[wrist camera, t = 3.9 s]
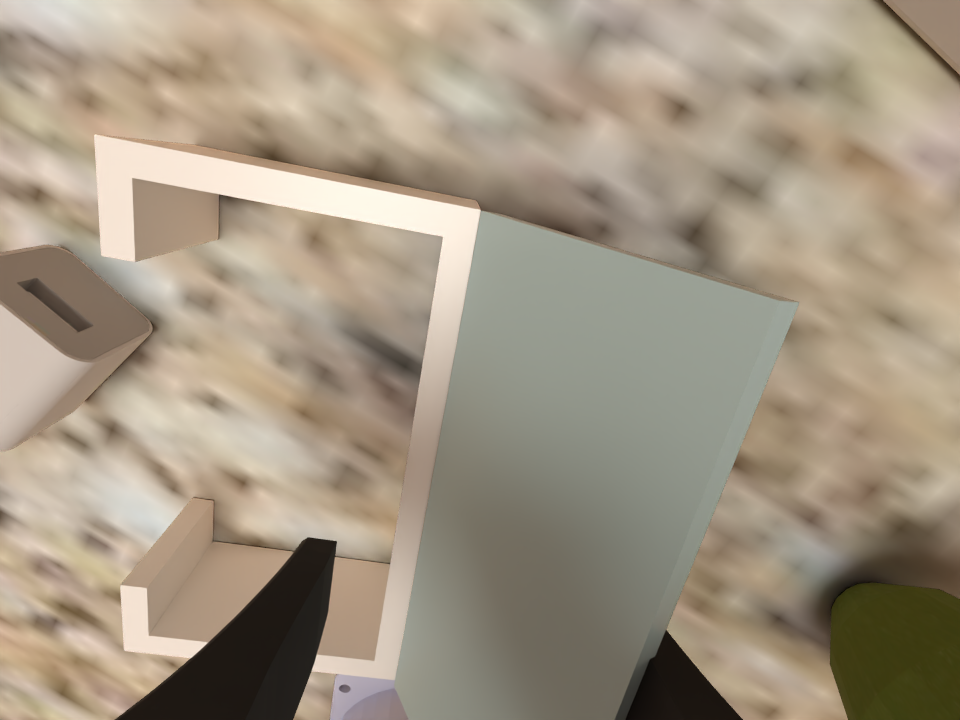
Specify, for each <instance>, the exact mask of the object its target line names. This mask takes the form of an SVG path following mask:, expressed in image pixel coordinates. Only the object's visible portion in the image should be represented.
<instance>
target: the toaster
mask: <svg viewBox="0 0 960 720" xmlns="http://www.w3.org/2000/svg"><path fill="white" fill-rule="evenodd" d="M883 1H884V2H885V3H886V4H887V5H888V6H889V7H890V8H891V9H892V10H893V11H894V12H896V13H897V14H898V15H899V16H900V17H901V18H902V19H903V20H904V21H905V22H906V23H907V24H908V25H909V26H910V27H911V28H912V29H913V30H914V31H915V32H916V33H917V34H918V35H919V36H920V37H921V38H922V39H923V40H924V41H925V42H926V43H927V44H929V45H930V46H931V47H932V48H933V49H934V50H935V51H936V52H937V53H938V54H939V55H940V56H941V57H942V58H943V59H944V60H945V61H946V62H947V63H948V64H949V65H950V66H951V67H952V68H953V69H954V70H955V71H956V72H957V73H958V74H959V75H960V0H883Z"/></svg>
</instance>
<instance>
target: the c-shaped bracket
mask: <svg viewBox="0 0 960 720" xmlns="http://www.w3.org/2000/svg"><path fill="white" fill-rule="evenodd" d="M94 139H95V156H96V174H97V191H98V208H99V226H100V243H101V256H105V257H110V258H116V259H122V260H128V261H133V262H136V261H140V260H144V259H147V258H151V257H155V256H159V255H162V254H166V253H170V252H173V251H177V250H181V249H184V248H188V247H192V246H195V245H199V244H203V243H207V242H210V241H214V240H218V231H219V194H221V195H226V196H231V197H236V198H242V199H247V200H252V201H257V202H263V203H268V204H273V205H279V206H284V207H289V208H294V209H300V210H305V211H310V212H316V213H321V214H326V215H331V216H337V217H342V218H347V219H352V220H358V221H363V222H368V223H374V224H379V225H384V226H389V227H395V228H400V229H405V230H410V231H416V232H421V233H426V234H432V235H437V236H442V237H443V241H442V248H441V254H440V260H439V266H438V272H437V278H436V285H435V291H434V297H433V303H432V309H431V315H430V322H429V328H428V334H427V340H426V346H425V352H424V359H423V365H422V371H421V377H420V383H419V389H418V396H417V402H416V408H415V414H414V420H413V426H412V433H411V439H410V445H409V451H408V457H407V463H406V470H405V476H404V482H403V488H402V494H401V500H400V507H399V513H398V519H397V525H396V531H395V537H394V544H393V550H392V556H391V562H390V564H386V563H378V562H370V561H362V560H355V559H347V558H339V557H335V560H334V568H333V577H332V585H331V593H330V601H329V609H328V615H327V619H326V623H325V626H324V630H323V634H322V637H321V641H320V645H319V648H318V652H317V655H316V659H315V663H314V665H313V668H312V671H314V672H323V673H332V674H342V675H351V676H360V677H369V678H378V679H388V680H395V676H396V671H397V665H398V660H399V655H400V649H401V644H402V638H403V633H404V627H405V622H406V616H407V611H408V605H409V600H410V595H411V589H412V584H413V578H414V573H415V567H416V562H417V556H418V551H419V545H420V540H421V534H422V529H423V524H424V518H425V513H426V507H427V502H428V496H429V491H430V485H431V480H432V474H433V469H434V464H435V458H436V453H437V447H438V442H439V436H440V431H441V425H442V420H443V414H444V409H445V403H446V398H447V393H448V387H449V382H450V376H451V371H452V365H453V360H454V354H455V349H456V343H457V338H458V333H459V327H460V322H461V316H462V311H463V305H464V300H465V294H466V289H467V283H468V278H469V272H470V267H471V262H472V256H473V251H474V245H475V240H476V234H477V229H478V223H479V218H480V212H481V209H480V207H479V205H478V203H477V200H472V199H466V198H461V197H456V196H451V195H446V194H441V193H436V192H431V191H426V190H421V189H416V188H411V187H406V186H401V185H395V184H390V183H385V182H380V181H375V180H370V179H365V178H360V177H355V176H350V175H345V174H340V173H335V172H330V171H324V170H319V169H314V168H309V167H304V166H299V165H294V164H289V163H284V162H279V161H274V160H269V159H264V158H259V157H253V156H248V155H243V154H238V153H233V152H228V151H223V150H218V149H213V148H208V147H203V146H198V145H192V144H182V143H173V142H163V141H153V140H144V139H134V138H125V137H115V136H106V135H96V134H94ZM213 510H214V501H213V500H205V499H198V498H192V500H191V501H190V502H189V503H188V504H187V506H186V507H185V508H184V509H183V510H182V512H181V513H180V514H179V515H178V516H177V518H176V519H175V520H174V521H173V522H172V524H171V525H170V526H169V527H168V528H167V530H166V531H165V532H164V533H163V534H162V536H161V537H160V538H159V539H158V540H157V542H156V543H155V544H154V545H153V546H152V548H151V549H150V550H149V551H148V552H147V554H146V555H145V556H144V557H143V558H142V560H141V561H140V562H139V563H138V564H137V566H136V567H135V568H134V569H133V570H132V572H131V573H130V574H129V575H128V576H127V578H126V579H125V580H124V581H123V582H122V584H121V585H120V588H121V605H122V623H123V640H124V651H130V652H139V653H149V654H158V655H167V656H176V657H185V658H192V657H193V656H194V655H195V654H196V653H197V652H198V651H200V650H201V649H202V648H203V647H204V646H205V645H206V644H207V643H208V642H209V641H210V640H211V639H212V638H213V637H214V636H216V635H217V634H218V633H219V632H220V631H221V630H222V629H223V628H224V627H225V626H226V625H227V624H228V623H229V622H230V621H231V620H232V619H233V618H234V617H235V616H236V615H237V614H238V613H239V612H240V611H241V610H242V609H243V608H244V607H245V606H246V605H247V604H248V603H249V602H250V601H251V600H252V599H253V598H254V597H255V596H256V595H257V594H258V593H259V592H260V590H261V589H262V588H263V587H264V586H265V585H266V584H267V583H268V582H269V581H270V580H271V578H272V577H273V576H274V575H275V574H276V573H277V572H278V571H279V569H280V568H281V567H282V566H283V565H284V564H285V562H286V561H287V560H288V559H289V558H290V556H291V555H292V554H293V553H294V552H293V551H285V550H277V549H270V548H262V547H254V546H247V545H239V544H231V543H223V542H216V541H213Z"/></svg>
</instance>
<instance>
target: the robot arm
mask: <svg viewBox="0 0 960 720" xmlns="http://www.w3.org/2000/svg"><path fill="white" fill-rule="evenodd" d="M336 544H337V541H330V540H323V539H316V538H309V537H308V538H307V539H305V540H303V541H302V542H301V544H300V545H299V546H298V548H297V549H296V550H295V551H294V553H293V554H292V555H291V556H290V558H289V559H288V560H287V561H286V562H285V564H284V565H283V566H282V567H281V568H280V569H279V571H278V572H277V573H276V574H275V575H274V576H273V577H272V578H271V580H270V581H269V582H268V583H267V584H266V585H265V586H264V587H263V588H262V589H261V590H260V592H259V593H258V594H257V595H256V596H255V597H254V598H253V599H252V600H251V601H250V602H249V603H248V604H247V605H246V606H245V607H244V608H243V609H242V610H241V611H240V612H239V613H238V614H237V615H236V616H235V617H234V618H233V619H232V620H231V621H230V622H229V623H228V624H227V625H226V626H225V627H224V628H223V629H222V630H221V631H220V632H219V633H218V634H217V635H216V636H214V637H213V638H212V639H211V640H210V641H209V642H208V643H207V644H206V645H205V646H204V647H203V648H202V649H201V650H200V651H198V652H197V653H196V654H195V655H194V656H193V657H192V658H191V659H189V660H188V661H187V662H186V663H185V664H184V665H183V666H181V667H180V668H179V669H178V670H177V671H176V672H174V673H173V674H172V675H171V676H170V677H168V678H167V679H166V680H165V681H164V682H162V683H161V684H160V685H159V686H158V687H156V688H155V689H154V690H153V691H151V692H150V693H149V694H148V695H146V696H145V697H144V698H143V699H141V700H140V701H139V702H137V703H136V704H135V705H133V706H132V707H131V708H130V709H128V710H127V711H126V712H124V713H123V714H122V715H120V716H119V717H118V718H117V719H115V720H293V718H294V716H295V713H296V710H297V708H298V705H299V702H300V700H301V697H302V695H303V692H304V689H305V687H306V684H307V681H308V679H309V676H310V673H311V671H312V668H313V665H314V663H315V659H316V655H317V652H318V648H319V645H320V641H321V637H322V634H323V630H324V626H325V623H326V619H327V615H328V609H329V601H330V593H331V585H332V577H333V568H334V560H335V552H336ZM396 672H397V671H396ZM395 678H396V676H395ZM394 683H395V680H388V679H378V678H369V677H360V676H351V675H342V674H336V677H335V682H334V690H333V698H332V706H331V713H330V720H409V719H408V717H407V714H406V712H405V710H404V707H403V705H402V703H401V701H400V698H399V696H398V694H397V691H396V689H395V687H394ZM625 720H743V719H742V718H741V717H740V716H739V715H738V714H737V713H736V712H735V710H734V709H733V708H732V707H731V706H730V705H729V704H728V703H727V702H726V700H725V699H724V698H723V697H722V696H721V695H720V694H719V693H718V692H717V690H716V689H715V688H714V687H713V686H712V685H711V684H710V682H709V681H708V680H707V679H706V678H705V677H704V675H703V674H702V673H701V672H700V671H699V670H698V668H697V667H696V666H695V665H694V664H693V662H692V661H691V660H690V659H689V658H688V656H687V655H686V654H685V653H684V651H683V650H682V649H681V648H680V647H679V645H678V644H677V643H676V642H675V640H674V639H673V638H672V637H671V635H670V634H669V633H668V632H667V630H666V631H665V633H664V636H663V638H662V641H661V643H660V646H659V648H658V651H657V653H656V655H655V657H653V658H651V659H650V660H649V663H648V665H647V668H646V670H645V673H644V675H643V677H642V680H641V682H640V685H639V687H638V690H637V692H636V695H635V697H634V699H633V702H632V704H631V707H630V709H629V712H628V714H627V717H626V719H625Z"/></svg>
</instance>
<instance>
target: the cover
mask: <svg viewBox="0 0 960 720" xmlns="http://www.w3.org/2000/svg"><path fill="white" fill-rule="evenodd" d="M798 305H799V302H797V301H793V300H790V299H786V298H783V297H780V296H776V295H773V294H770V293H766V292H763V291H759V290H756V289H753V288H749V287H746V286H743V285H739V284H736V283H732V282H729V281H726V280H722V279H719V278H716V277H712V276H709V275H705V274H702V273H699V272H695V271H692V270H688V269H685V268H682V267H678V266H675V265H672V264H668V263H665V262H661V261H658V260H655V259H651V258H648V257H645V256H641V255H638V254H634V253H631V252H628V251H624V250H621V249H617V248H614V247H611V246H607V245H604V244H601V243H597V242H594V241H590V240H587V239H584V238H580V237H577V236H574V235H570V234H567V233H563V232H560V231H557V230H553V229H550V228H546V227H543V226H540V225H536V224H533V223H530V222H526V221H523V220H519V219H516V218H513V217H509V216H506V215H503V214H499V213H494V212H487V211H481V214H480V220H479V225H478V231H477V236H476V242H475V247H474V253H473V258H472V263H471V269H470V274H469V280H468V285H467V291H466V296H465V302H464V307H463V313H462V318H461V323H460V329H459V334H458V340H457V345H456V351H455V356H454V362H453V367H452V373H451V378H450V383H449V389H448V394H447V400H446V405H445V411H444V416H443V422H442V427H441V432H440V438H439V443H438V449H437V454H436V460H435V465H434V471H433V476H432V482H431V487H430V492H429V498H428V503H427V509H426V514H425V520H424V525H423V531H422V536H421V542H420V547H419V552H418V558H417V563H416V569H415V574H414V580H413V585H412V591H411V596H410V601H409V607H408V612H407V618H406V623H405V629H404V634H403V640H402V645H401V651H400V656H399V661H398V667H397V672H396V678H395V683H394V687H395V689H396V691H397V694H398V696H399V698H400V701H401V703H402V705H403V707H404V710H405V712H406V714H407V717H408V719H409V720H625V719H626V717H627V714H628V712H629V709H630V707H631V704H632V702H633V699H634V697H635V695H636V692H637V690H638V687H639V685H640V682H641V680H642V677H643V675H644V673H645V670H646V668H647V665H648V663H649V660H650V659H651V658H653V657H655V655H656V653H657V651H658V648H659V646H660V643H661V641H662V638H663V636H664V633H665V631H666V628H667V626H668V624H669V621H670V619H671V616H672V614H673V611H674V609H675V606H676V604H677V601H678V599H679V597H680V594H681V592H682V589H683V587H684V584H685V582H686V579H687V577H688V575H689V572H690V570H691V567H692V565H693V562H694V560H695V557H696V555H697V552H698V550H699V548H700V545H701V543H702V540H703V538H704V535H705V533H706V530H707V528H708V525H709V523H710V521H711V518H712V516H713V513H714V511H715V508H716V506H717V503H718V501H719V499H720V496H721V494H722V491H723V489H724V486H725V484H726V481H727V479H728V476H729V474H730V472H731V469H732V467H733V464H734V462H735V459H736V457H737V454H738V452H739V449H740V447H741V445H742V442H743V440H744V437H745V435H746V432H747V430H748V427H749V425H750V423H751V420H752V418H753V415H754V413H755V410H756V408H757V405H758V403H759V400H760V398H761V396H762V393H763V391H764V388H765V386H766V383H767V381H768V378H769V376H770V373H771V371H772V369H773V366H774V364H775V361H776V359H777V356H778V354H779V351H780V349H781V347H782V344H783V342H784V339H785V337H786V334H787V332H788V329H789V327H790V324H791V322H792V320H793V317H794V315H795V312H796V310H797V307H798Z"/></svg>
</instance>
